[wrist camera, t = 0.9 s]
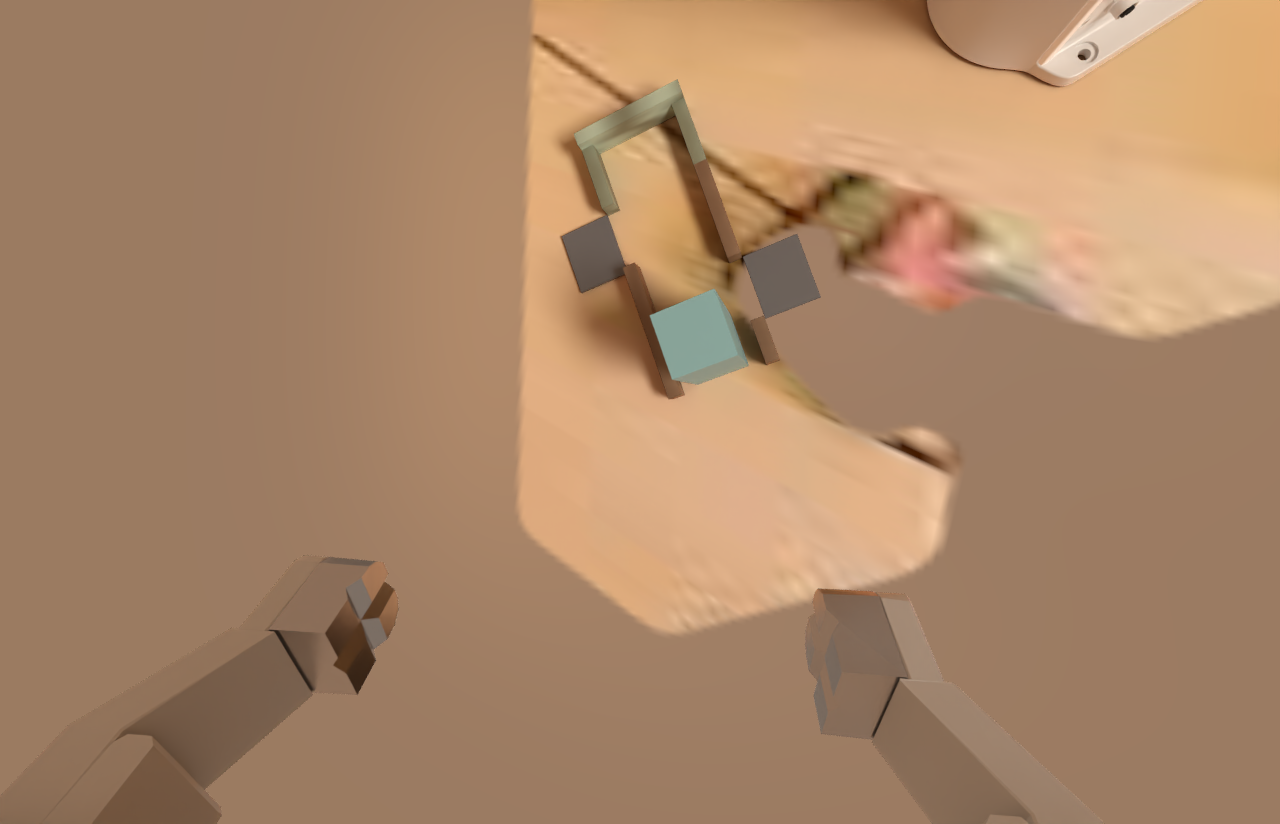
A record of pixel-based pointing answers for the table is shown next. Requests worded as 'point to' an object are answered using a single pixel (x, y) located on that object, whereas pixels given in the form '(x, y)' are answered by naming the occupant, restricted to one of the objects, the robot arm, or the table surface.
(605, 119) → the channel
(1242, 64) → the table surface
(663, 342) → the teal block
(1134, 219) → the table surface
